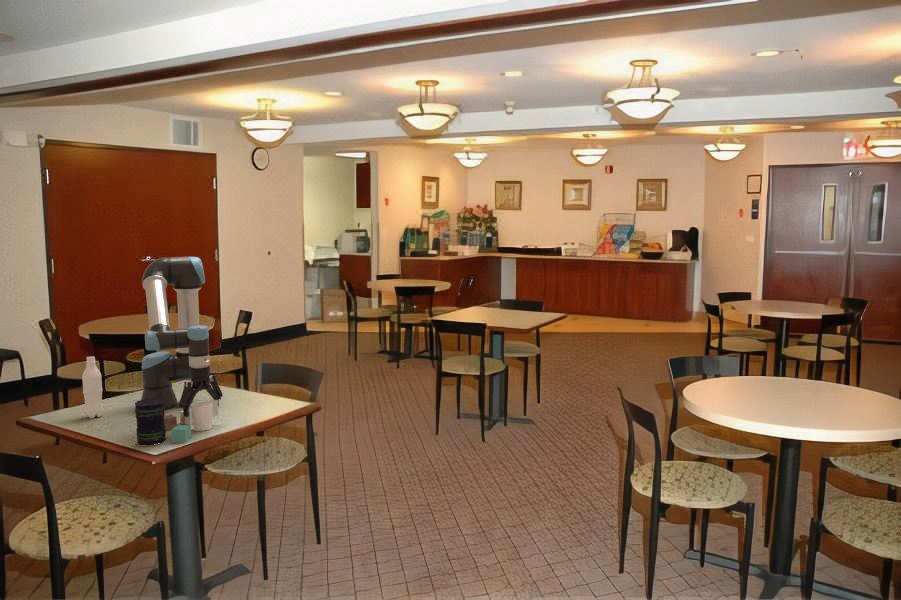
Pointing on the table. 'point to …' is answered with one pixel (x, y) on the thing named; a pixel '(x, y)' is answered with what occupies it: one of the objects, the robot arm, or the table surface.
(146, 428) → the storage jar
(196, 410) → the white cup
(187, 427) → the teal block
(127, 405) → the table surface
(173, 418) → the walnut block
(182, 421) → the maple block
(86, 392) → the water bottle
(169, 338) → the robot arm
